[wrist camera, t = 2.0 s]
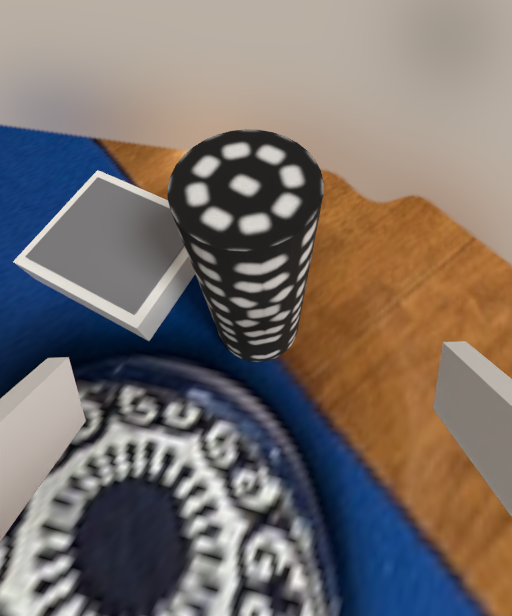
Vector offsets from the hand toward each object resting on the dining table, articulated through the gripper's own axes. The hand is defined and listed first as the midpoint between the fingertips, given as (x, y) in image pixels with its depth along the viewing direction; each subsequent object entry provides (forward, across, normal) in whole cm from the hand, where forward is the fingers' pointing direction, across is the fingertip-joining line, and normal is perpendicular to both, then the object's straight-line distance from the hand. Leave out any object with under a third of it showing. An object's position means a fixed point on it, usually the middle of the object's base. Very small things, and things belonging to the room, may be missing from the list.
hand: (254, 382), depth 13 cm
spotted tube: (+24, 0, -8) cm, 25 cm away
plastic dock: (+29, -15, -1) cm, 33 cm away
